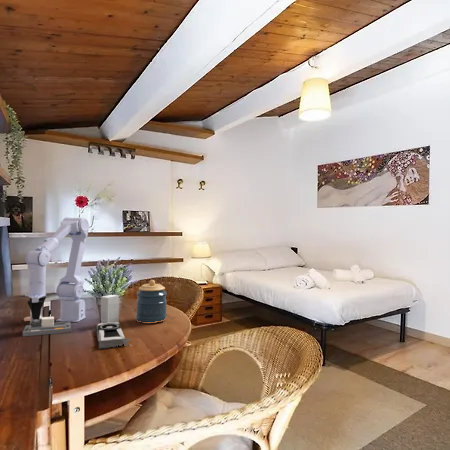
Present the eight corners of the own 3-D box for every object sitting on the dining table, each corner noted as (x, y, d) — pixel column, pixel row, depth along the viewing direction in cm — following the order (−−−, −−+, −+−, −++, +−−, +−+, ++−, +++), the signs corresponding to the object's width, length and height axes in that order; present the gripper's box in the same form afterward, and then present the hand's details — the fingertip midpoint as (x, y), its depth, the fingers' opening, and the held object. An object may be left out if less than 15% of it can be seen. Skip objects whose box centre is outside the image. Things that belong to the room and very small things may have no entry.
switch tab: (41, 328, 136) (41, 319, 136) (42, 325, 140) (42, 317, 140) (53, 327, 138) (53, 318, 138) (53, 324, 141) (53, 316, 141)
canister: (144, 326, 147) (145, 283, 147) (130, 319, 157) (131, 279, 157) (172, 321, 156) (172, 280, 156) (157, 315, 166) (158, 276, 166)
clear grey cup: (44, 322, 139) (44, 302, 139) (38, 325, 135) (38, 304, 135) (33, 322, 139) (34, 301, 139) (27, 325, 135) (28, 304, 135)
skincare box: (111, 322, 152) (112, 294, 152) (118, 324, 150) (119, 295, 150) (100, 325, 147) (100, 296, 147) (107, 327, 145) (107, 297, 145)
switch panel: (22, 336, 131) (22, 330, 131) (25, 329, 140) (25, 324, 140) (70, 332, 138) (70, 326, 138) (70, 326, 146) (70, 320, 146)
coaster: (45, 317, 158) (45, 315, 158) (36, 322, 151) (36, 320, 151) (30, 317, 158) (30, 315, 158) (20, 321, 151) (20, 319, 151)
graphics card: (99, 341, 119) (96, 321, 142) (98, 351, 119) (96, 330, 142) (130, 338, 123) (122, 319, 146) (130, 348, 123) (122, 328, 146)
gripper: (27, 279, 142) (27, 314, 142) (22, 285, 129) (22, 323, 129) (47, 278, 145) (47, 312, 145) (44, 284, 132) (44, 321, 132)
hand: (36, 317), depth 137 cm, fingers closed on clear grey cup, 4 cm apart
